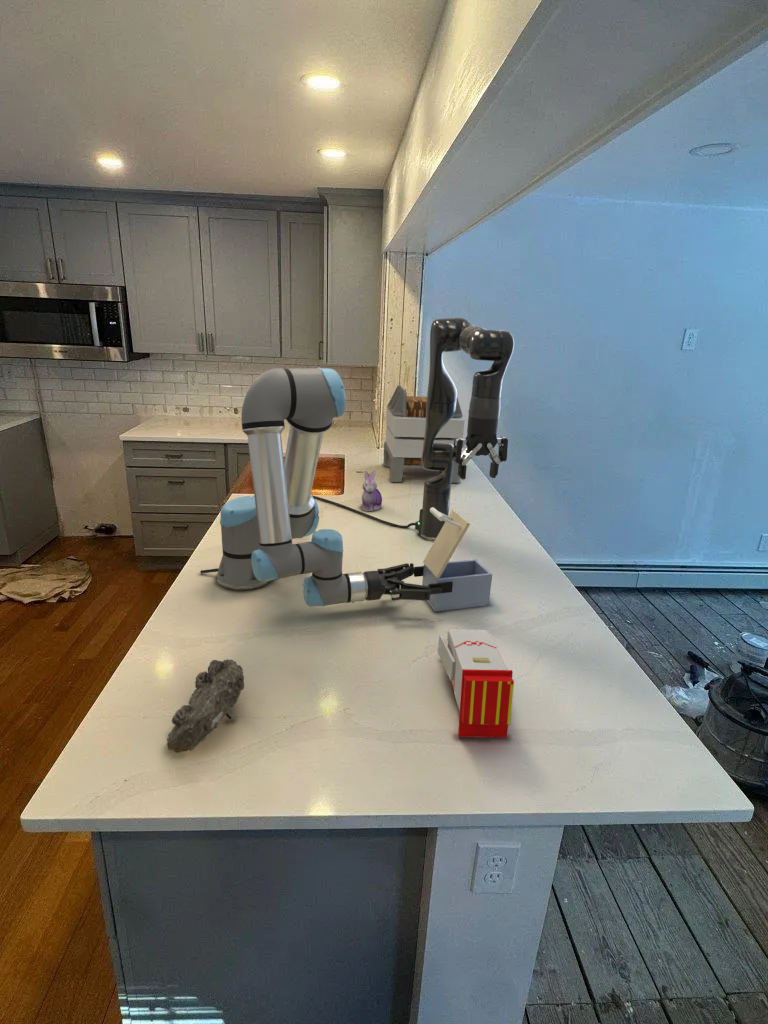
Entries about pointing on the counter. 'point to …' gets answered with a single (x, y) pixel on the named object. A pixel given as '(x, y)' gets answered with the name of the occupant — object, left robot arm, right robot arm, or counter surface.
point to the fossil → (206, 705)
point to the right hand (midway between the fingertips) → (477, 477)
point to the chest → (460, 585)
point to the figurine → (371, 493)
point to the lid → (445, 541)
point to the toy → (478, 682)
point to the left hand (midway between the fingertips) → (444, 578)
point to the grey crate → (414, 433)
